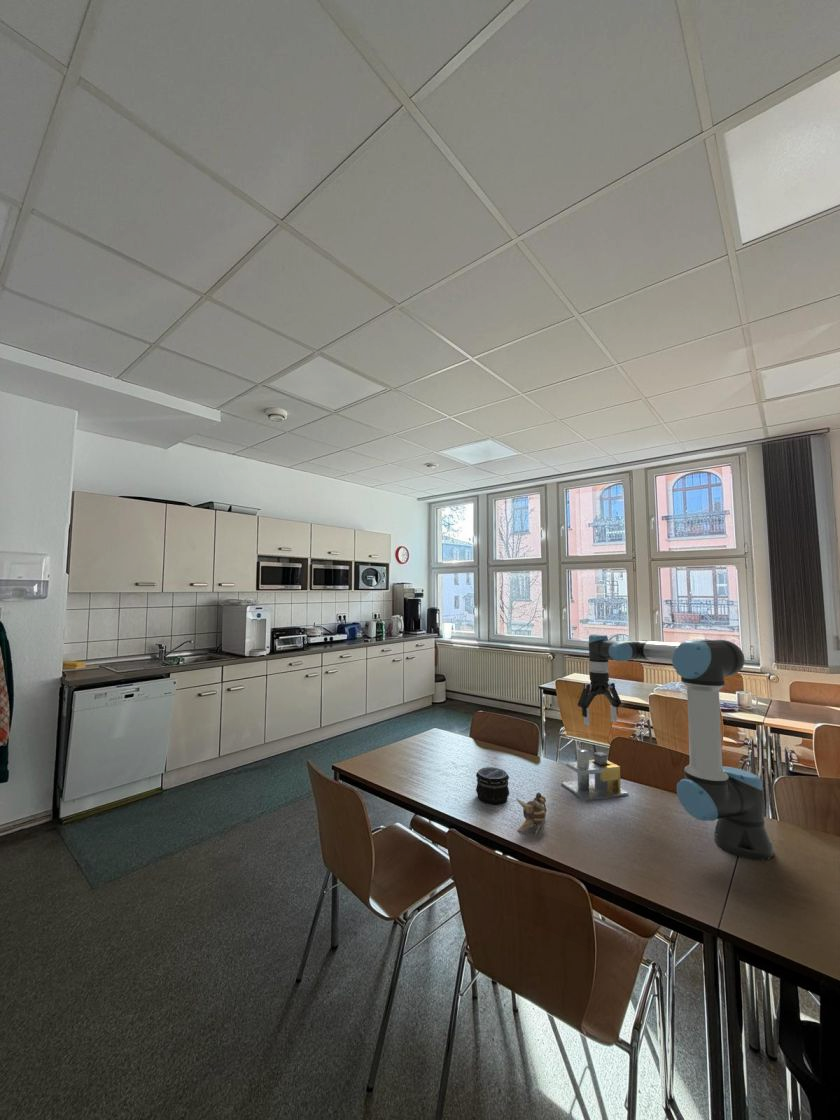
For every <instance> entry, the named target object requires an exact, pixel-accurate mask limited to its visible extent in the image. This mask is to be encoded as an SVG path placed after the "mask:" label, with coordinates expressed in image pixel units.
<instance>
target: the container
mask: <svg viewBox="0 0 840 1120" xmlns="http://www.w3.org/2000/svg"><path fill="white" fill-rule="evenodd" d="M475 777H476V782H477V785H476V788H475V792H476V794H477V800H478V801H479V802H480V803H482V804H483V805H484V804H485V805H489V806H501V805H504V804H506V803H507V802H508V798H509V795H510V790H509V786H508V785H509V779H510V777H509V775H508V773H507V772H506V770H504V769H503V768H499V767H493V766H491V767H490V766H489V767H488V766H486V767H482V768H480V769H478V771H477V772H476V774H475Z"/></svg>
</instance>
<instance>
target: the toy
mask: <svg viewBox="0 0 840 1120" xmlns="http://www.w3.org/2000/svg"><path fill="white" fill-rule="evenodd" d="M546 799H547V798H546V797H545V796H543V795H542V793H540V792H537V793H536V794H535V797H534V798H533V800H531V801H528V802H524V801H522V800H521V799H519V798H517V797H516V798H515V800H516V801H517V802H518V803H519V804H520V806H521V807H522V809H523V811H522V813H523V818H524V819H525V820H524V822H523V823H522V824H521V825H520V827H519V828H518V829H517V830H516V831H517V832H522V831H524V830H526V829H529V828H531V826H533V825H535V835H537V834H538V831H539V829H540V828H541V826H542V823H543V822H545V821H546V816H547V808H546V806H547V805H546V802H547V800H546Z"/></svg>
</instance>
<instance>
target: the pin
mask: <svg viewBox="0 0 840 1120" xmlns="http://www.w3.org/2000/svg"><path fill="white" fill-rule="evenodd" d="M593 757H594V758H593V760H594V764H596V765H598V766H600V767H602V766H607V760H608V754H606V753H604V752H602V751H596V752H595V751H594V752H593ZM594 778H595V785H596V786H597V787H599V788H607V781H602V780H600V773H595V774H594Z"/></svg>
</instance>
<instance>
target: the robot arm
mask: <svg viewBox="0 0 840 1120" xmlns="http://www.w3.org/2000/svg"><path fill="white" fill-rule="evenodd" d="M588 659H589V661H588V664H589V666H588V667H589V670H590V671H589V680H590V683H584V684H583V689H582V692H581V694H580V697H579V699H578V702H577V707H580V708H581V711H582V712H581V715H582V717H583V724H584V725H585V726H590V709H589V706H590V704H591V703H592V701H593V700H594V699H595V697H596V696H597V695H600V696H601V695H604V696H605V698H607V700H608V701H609V703H610V722H611V723H614V724H618V718H617V717H618V716H617V715H618V714H619V709H618V708H620V706H621V705H622V704H623V703H622V700H621V698H620V696H619V694H618V691H617V689H616V686H615V685H616V684H615V682H611V681H610V678H609V677H610V675H609V674H610V673H609V671H610V670H609V669H610V668H609V667H610V666H609V660H613V661H616V662H627V661H629V660H633V661H634V660H641V661H655V662H664V663H671V664H672V667H673V669H674V670H675V672H676V673H677V675H679V676H680V679H681V682H682V685H684V686H685V687H686V696H687V722H688V745H689V746H688V750H689V751H688V754H689V763H688V765H686V766H685V767H684V778H682V779H680V781H678V782H677V784H676V794H677V798H678V800H679V802H680V804H681V806H683V808H684V810H685V811H686V813H687V814H688V815H690V816H691V817H692V818H694V819H695V820H699V821H701V822H704V821H706V822H707V821H711V822H713V821H717V823H716V825H715V828H714V831H713V839H714V842H715V844H716V845H718V846H719V848H721V849H723V850H724V851H726V852H728V853H730V854H733V855H735V856H738V857H741V858H745V859H749V860H757V861H763V860H762V859H767V860H769V859H768V858H770V857H772V856H773V857H774V847H773V844H772V843H771V841H770V838H769V835H768V832H767V830H766V825H765V811H764V808H765V807H764V789H763V782H762V778H760V777H759V776H758V775H756V774H754V773H752V772H750V771H747V770H743V769H740V768H737V767H732V766H724V765H723V754H722V750H723V749H722V733H721V728H722V727H721V706H720V691H721V689H723V688H724V687H725V684H726V683H725V677H731V676H735V675H736V674H738V673H739V672H741V670H742V669H743V668H744V665H745V661H746V660H745V655H744V653H743V650H742V649H741V648H740V647H739V646H738V645H737V644H735V643H734V642H732V641H729V640H725V639H692V640H687V641H682V642H671V641H669V642H668V641H667V642H666V641H656V640H655V641H651V640H645V639H644V640H643V639H642V640H609V638H608V635H607V634H602V633H601V634H600V633H597V634H595V633H594V634H590V635H589V636H588ZM773 857H772V858H773ZM770 859H771V858H770Z"/></svg>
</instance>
